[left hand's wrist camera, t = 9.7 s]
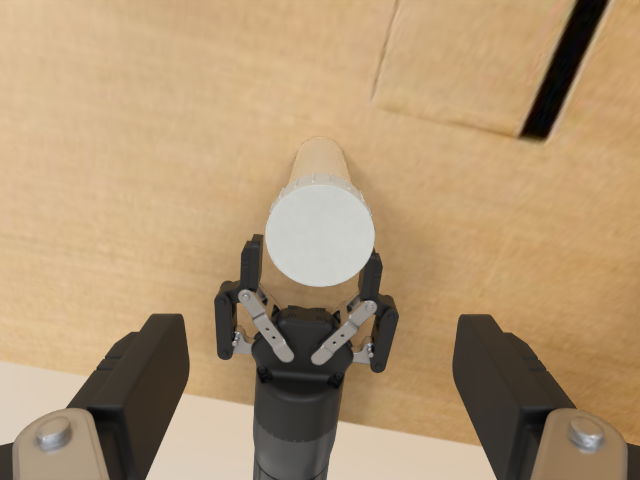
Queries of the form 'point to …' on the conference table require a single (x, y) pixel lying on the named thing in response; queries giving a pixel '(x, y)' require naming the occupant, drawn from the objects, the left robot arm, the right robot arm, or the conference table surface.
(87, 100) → the conference table surface
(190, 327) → the conference table surface
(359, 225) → the lid
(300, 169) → the white bottle
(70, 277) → the conference table surface
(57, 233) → the conference table surface
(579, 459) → the left robot arm
